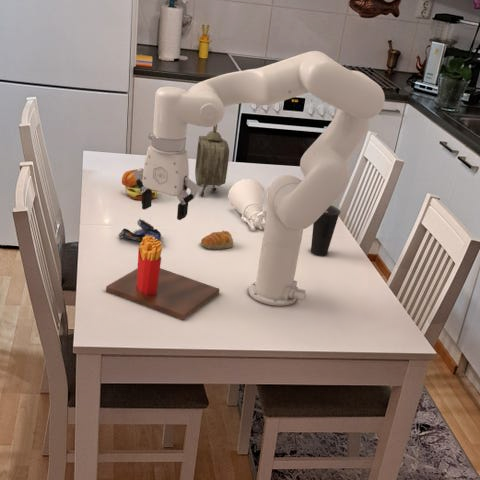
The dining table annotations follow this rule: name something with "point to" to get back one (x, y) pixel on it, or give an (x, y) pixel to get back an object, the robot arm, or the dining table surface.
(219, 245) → the pastry
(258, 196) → the rocket engine
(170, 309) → the cutting board
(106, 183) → the dining table surface
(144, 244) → the french fries
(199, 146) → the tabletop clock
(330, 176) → the robot arm
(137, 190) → the cheeseburger
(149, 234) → the snack package
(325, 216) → the drinking cup
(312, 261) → the dining table surface
